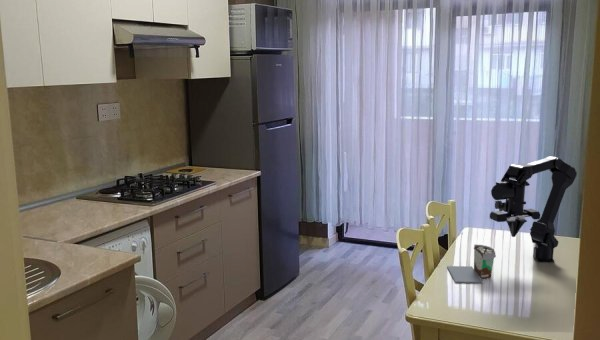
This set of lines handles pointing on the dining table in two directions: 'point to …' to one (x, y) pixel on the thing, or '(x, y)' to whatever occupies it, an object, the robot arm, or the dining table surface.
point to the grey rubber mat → (464, 274)
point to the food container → (483, 260)
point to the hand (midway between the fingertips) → (513, 236)
